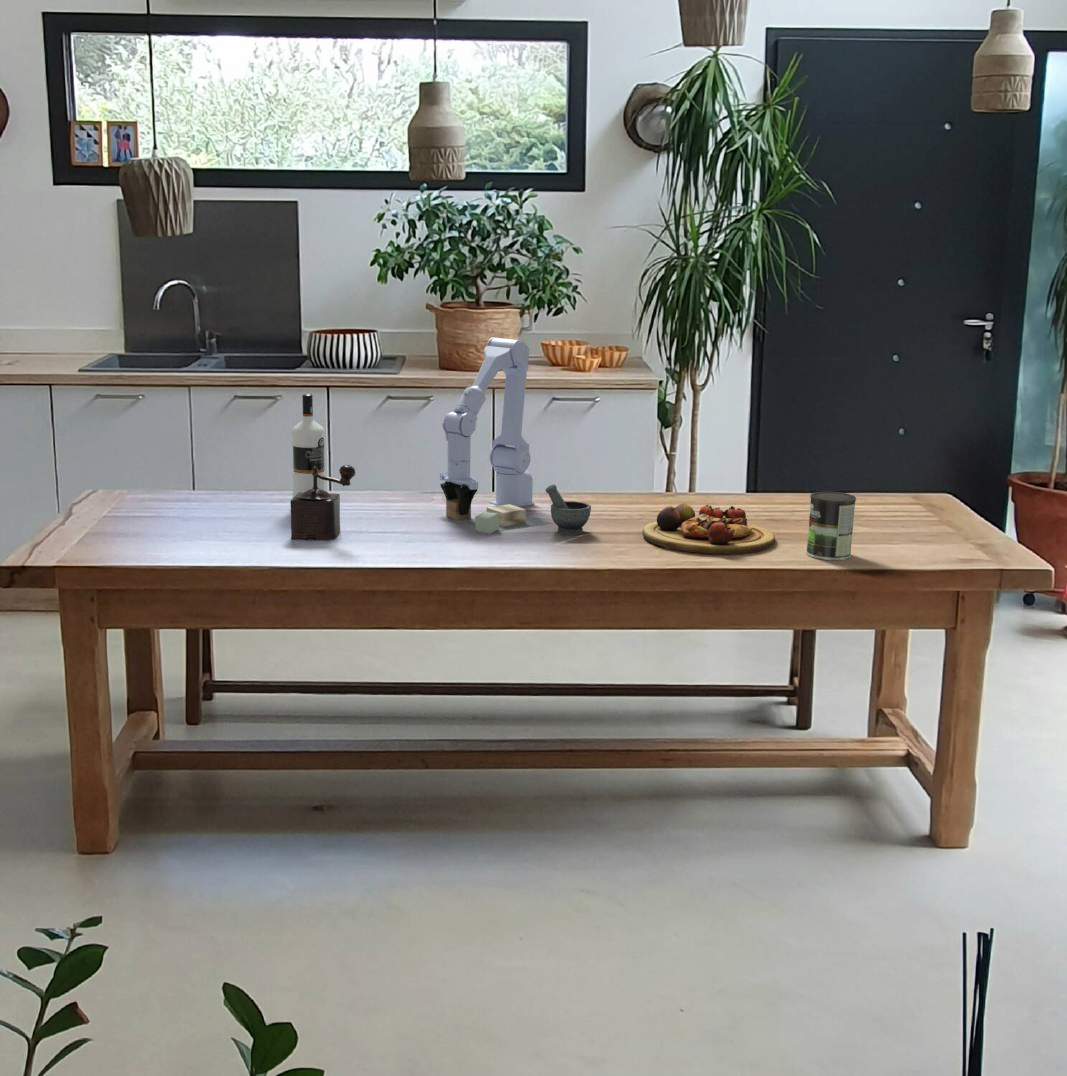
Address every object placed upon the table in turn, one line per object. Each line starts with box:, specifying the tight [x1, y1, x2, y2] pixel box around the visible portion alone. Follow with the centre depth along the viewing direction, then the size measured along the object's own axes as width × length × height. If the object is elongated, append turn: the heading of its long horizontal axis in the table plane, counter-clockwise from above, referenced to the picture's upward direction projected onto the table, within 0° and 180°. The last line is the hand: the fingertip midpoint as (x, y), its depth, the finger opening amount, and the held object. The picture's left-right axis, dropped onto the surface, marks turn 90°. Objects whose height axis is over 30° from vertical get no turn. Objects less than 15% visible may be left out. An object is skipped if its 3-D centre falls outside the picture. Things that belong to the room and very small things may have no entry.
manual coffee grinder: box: [290, 464, 356, 541], centre depth 319 cm, size 16×11×18 cm
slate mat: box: [461, 514, 552, 533], centre depth 337 cm, size 18×14×1 cm
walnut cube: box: [445, 499, 472, 521], centre depth 341 cm, size 4×4×4 cm
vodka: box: [291, 393, 327, 500], centre depth 343 cm, size 9×9×30 cm
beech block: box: [486, 504, 527, 527], centre depth 337 cm, size 7×7×4 cm
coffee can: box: [805, 491, 857, 562], centre depth 311 cm, size 10×10×14 cm
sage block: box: [474, 511, 499, 534], centre depth 327 cm, size 4×4×4 cm
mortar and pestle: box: [545, 484, 592, 536], centre depth 327 cm, size 11×9×12 cm
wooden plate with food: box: [642, 502, 776, 555], centre depth 325 cm, size 32×32×8 cm
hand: (458, 512), depth 341 cm, fingers closed on walnut cube, 4 cm apart
